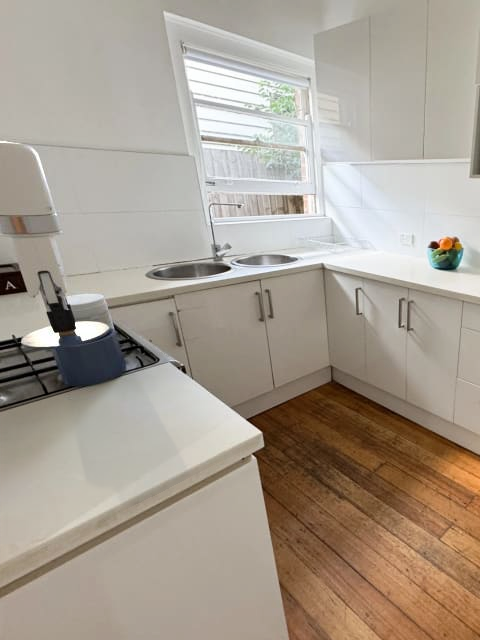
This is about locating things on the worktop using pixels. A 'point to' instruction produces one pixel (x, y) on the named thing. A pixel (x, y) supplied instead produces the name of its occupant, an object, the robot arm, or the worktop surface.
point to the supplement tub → (90, 308)
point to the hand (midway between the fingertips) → (65, 327)
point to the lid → (65, 336)
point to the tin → (91, 361)
